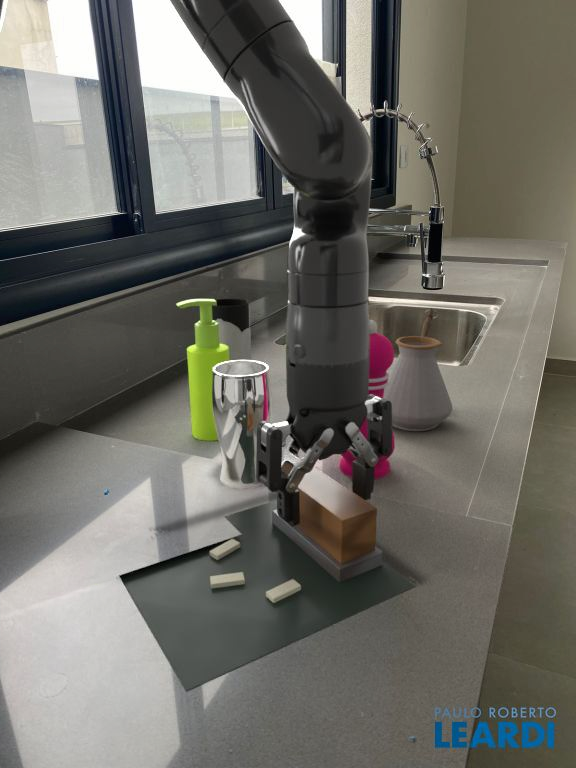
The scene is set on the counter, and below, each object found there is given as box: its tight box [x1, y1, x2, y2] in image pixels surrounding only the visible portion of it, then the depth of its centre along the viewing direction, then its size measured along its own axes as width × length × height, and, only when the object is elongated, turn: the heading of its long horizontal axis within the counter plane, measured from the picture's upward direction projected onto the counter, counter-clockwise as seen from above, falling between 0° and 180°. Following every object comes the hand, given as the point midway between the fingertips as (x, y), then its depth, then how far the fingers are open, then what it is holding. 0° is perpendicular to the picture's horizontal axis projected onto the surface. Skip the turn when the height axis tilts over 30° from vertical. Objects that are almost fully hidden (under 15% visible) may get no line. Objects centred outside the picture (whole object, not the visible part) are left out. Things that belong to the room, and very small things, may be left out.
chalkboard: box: [118, 499, 416, 692], centre depth 57 cm, size 22×20×1 cm
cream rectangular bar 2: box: [210, 572, 245, 588], centre depth 54 cm, size 3×1×1 cm, turn 102°
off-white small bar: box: [266, 579, 301, 603], centre depth 53 cm, size 3×1×1 cm, turn 127°
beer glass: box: [212, 359, 272, 490], centre depth 72 cm, size 7×7×15 cm
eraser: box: [272, 466, 384, 582], centre depth 59 cm, size 5×12×6 cm, turn 32°
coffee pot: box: [383, 307, 453, 432], centre depth 95 cm, size 21×12×15 cm, turn 160°
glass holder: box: [212, 298, 252, 361], centre depth 113 cm, size 9×14×15 cm, turn 162°
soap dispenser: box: [175, 298, 229, 442], centre depth 87 cm, size 6×7×20 cm
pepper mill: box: [339, 319, 396, 480], centre depth 73 cm, size 7×7×20 cm
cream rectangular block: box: [210, 539, 240, 560], centre depth 59 cm, size 3×1×1 cm, turn 137°
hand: (326, 509), depth 59 cm, fingers open, 8 cm apart
